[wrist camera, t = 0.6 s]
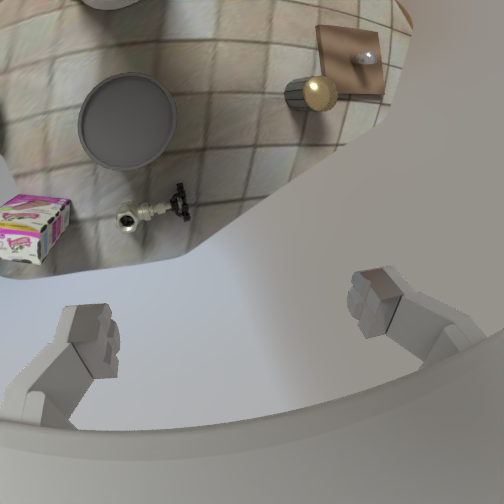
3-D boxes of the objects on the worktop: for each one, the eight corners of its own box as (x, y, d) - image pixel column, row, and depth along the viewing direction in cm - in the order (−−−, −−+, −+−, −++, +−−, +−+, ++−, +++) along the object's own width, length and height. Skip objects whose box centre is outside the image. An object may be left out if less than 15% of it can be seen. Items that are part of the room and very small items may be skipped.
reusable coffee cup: (176, 149, 48) (184, 162, 35) (104, 164, 45) (84, 183, 32) (168, 77, 42) (174, 61, 29) (94, 92, 39) (70, 83, 27)
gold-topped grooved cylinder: (282, 80, 48) (303, 76, 41) (312, 79, 49) (335, 76, 42) (286, 111, 51) (306, 112, 44) (316, 109, 52) (339, 110, 45)
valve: (123, 230, 51) (188, 214, 54) (120, 245, 45) (192, 227, 48) (113, 195, 48) (180, 178, 50) (108, 206, 42) (184, 187, 45)
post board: (315, 26, 44) (319, 24, 43) (373, 33, 47) (377, 32, 46) (323, 93, 51) (327, 93, 50) (380, 94, 54) (384, 94, 52)
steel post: (349, 54, 47) (366, 50, 42) (358, 54, 47) (376, 52, 43) (350, 65, 48) (367, 63, 43) (360, 66, 48) (377, 64, 44)
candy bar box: (71, 197, 45) (41, 231, 31) (69, 224, 47) (42, 267, 33) (17, 192, 41) (-26, 223, 27) (17, 218, 43) (-22, 257, 29)
